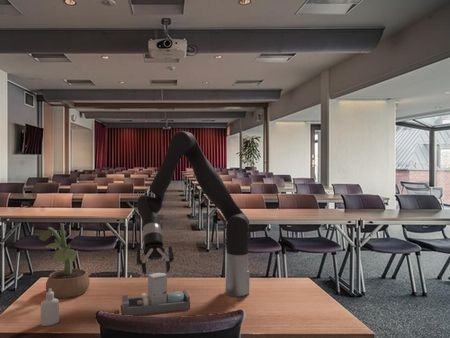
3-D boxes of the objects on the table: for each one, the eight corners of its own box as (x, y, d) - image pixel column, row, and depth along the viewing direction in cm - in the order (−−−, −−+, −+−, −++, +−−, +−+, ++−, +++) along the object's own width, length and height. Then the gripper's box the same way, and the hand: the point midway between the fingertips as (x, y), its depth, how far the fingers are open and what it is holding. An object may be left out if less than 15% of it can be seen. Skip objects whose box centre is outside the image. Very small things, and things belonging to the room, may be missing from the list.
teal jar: (181, 300, 150) (182, 290, 150) (185, 306, 144) (185, 296, 144) (166, 302, 148) (166, 292, 148) (169, 308, 142) (169, 298, 142)
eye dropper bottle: (43, 320, 132) (43, 286, 132) (60, 320, 133) (60, 286, 133) (38, 326, 128) (38, 291, 128) (56, 326, 129) (56, 290, 128)
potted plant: (51, 285, 167) (51, 216, 166) (94, 284, 169) (94, 216, 167) (29, 305, 145) (29, 226, 143) (78, 305, 146) (79, 227, 145)
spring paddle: (145, 303, 146) (145, 293, 146) (147, 311, 139) (148, 300, 139) (136, 304, 145) (136, 294, 145) (138, 312, 138) (138, 301, 138)
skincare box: (151, 310, 141) (152, 277, 140) (147, 306, 144) (147, 274, 144) (167, 306, 144) (167, 274, 144) (162, 302, 148) (162, 271, 147)
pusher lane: (184, 301, 152) (184, 288, 152) (190, 311, 143) (190, 298, 142) (121, 307, 145) (121, 294, 145) (123, 318, 135) (123, 304, 135)
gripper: (135, 232, 153) (138, 269, 142) (171, 230, 157) (176, 266, 147) (134, 242, 158) (136, 278, 148) (168, 240, 162) (173, 275, 152)
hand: (156, 272), depth 147 cm, fingers open, 8 cm apart
